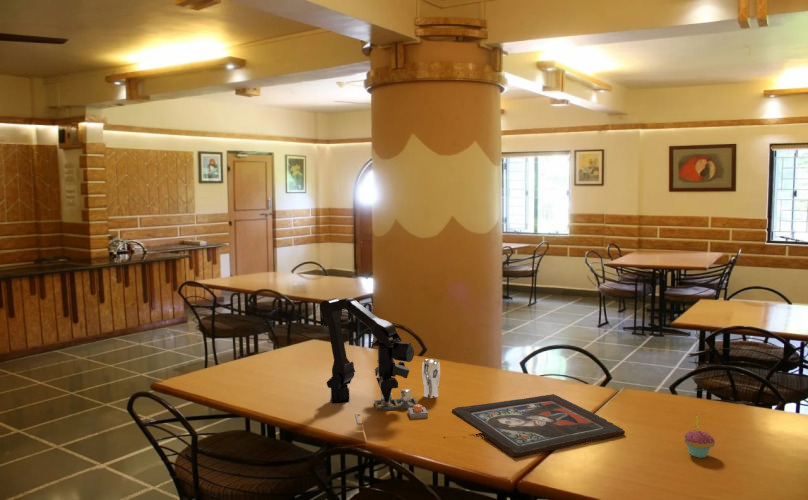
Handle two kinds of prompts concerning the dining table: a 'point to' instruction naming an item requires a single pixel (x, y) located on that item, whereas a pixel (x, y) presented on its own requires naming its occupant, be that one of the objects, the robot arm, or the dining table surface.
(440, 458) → the dining table surface
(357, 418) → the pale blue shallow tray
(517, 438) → the religious icon
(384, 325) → the robot arm
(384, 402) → the cylinder
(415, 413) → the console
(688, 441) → the cupcake
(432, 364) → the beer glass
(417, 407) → the brown egg
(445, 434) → the dining table surface
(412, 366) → the dining table surface
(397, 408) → the grey divided tray
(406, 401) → the cylinder
